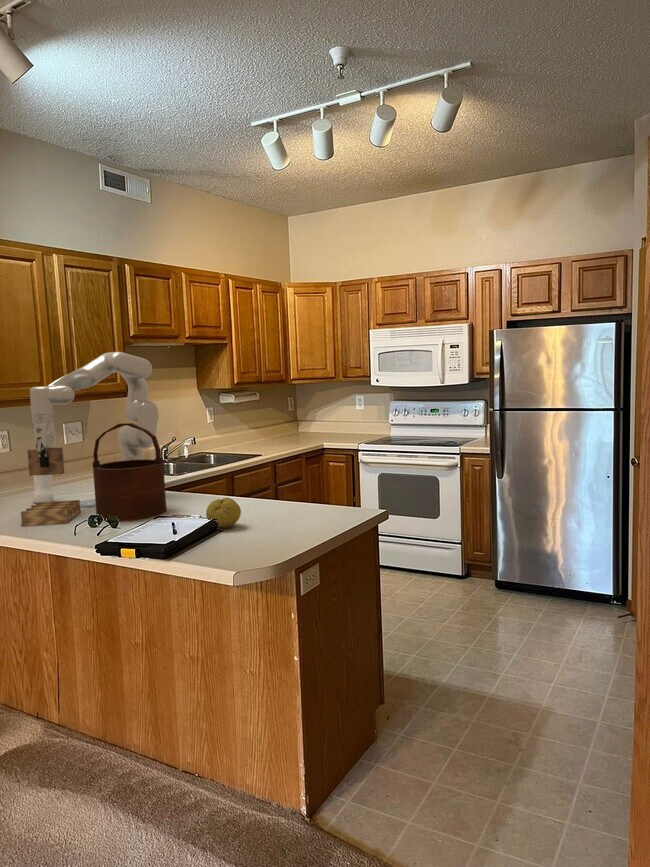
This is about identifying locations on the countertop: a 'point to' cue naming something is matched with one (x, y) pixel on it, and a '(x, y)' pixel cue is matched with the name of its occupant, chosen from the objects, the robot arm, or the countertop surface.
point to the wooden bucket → (130, 484)
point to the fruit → (224, 512)
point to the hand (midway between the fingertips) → (46, 465)
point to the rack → (50, 513)
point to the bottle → (42, 488)
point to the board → (54, 462)
